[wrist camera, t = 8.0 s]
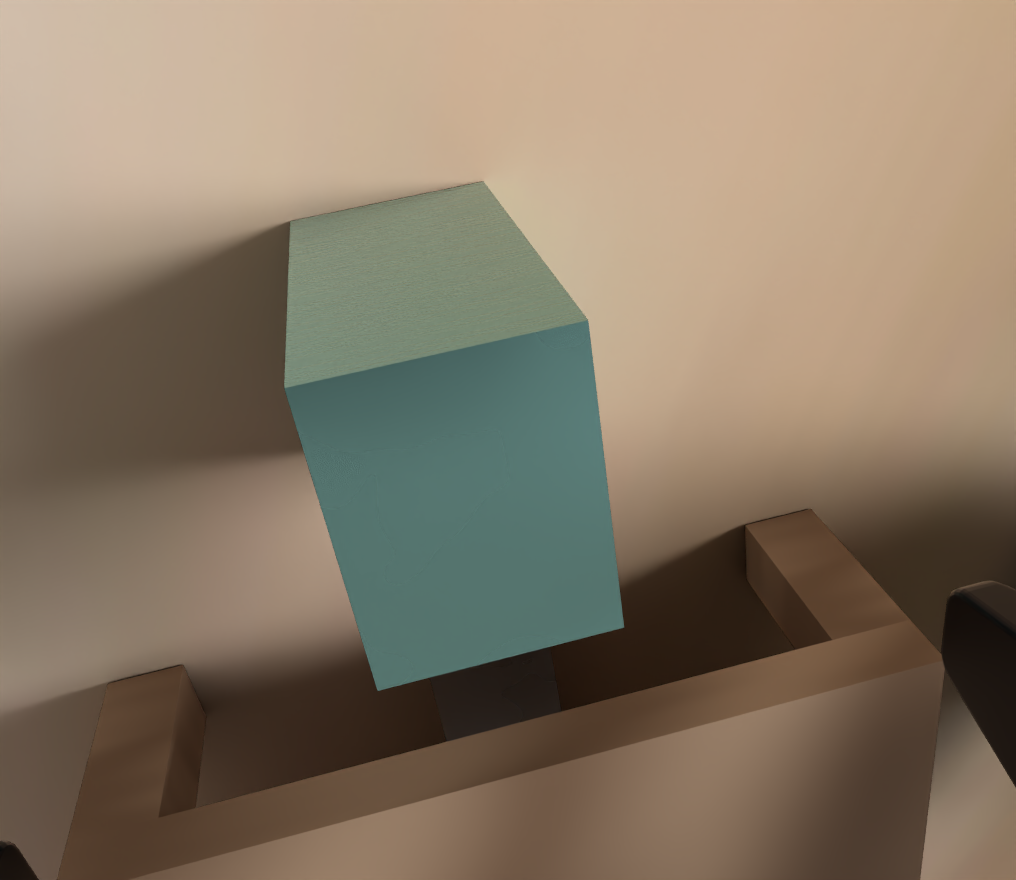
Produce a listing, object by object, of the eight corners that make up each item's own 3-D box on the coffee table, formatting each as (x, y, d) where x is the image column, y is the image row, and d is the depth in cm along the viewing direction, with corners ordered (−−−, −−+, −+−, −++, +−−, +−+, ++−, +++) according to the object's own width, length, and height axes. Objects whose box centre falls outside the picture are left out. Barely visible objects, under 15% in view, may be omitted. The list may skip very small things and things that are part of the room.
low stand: (810, 509, 19) (946, 659, 15) (806, 776, 23) (912, 949, 19) (108, 683, 17) (51, 900, 13) (235, 935, 21) (220, 1157, 17)
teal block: (546, 168, 14) (685, 299, 9) (634, 844, 22) (733, 1114, 17) (224, 234, 14) (178, 411, 9) (434, 900, 22) (475, 1195, 17)
